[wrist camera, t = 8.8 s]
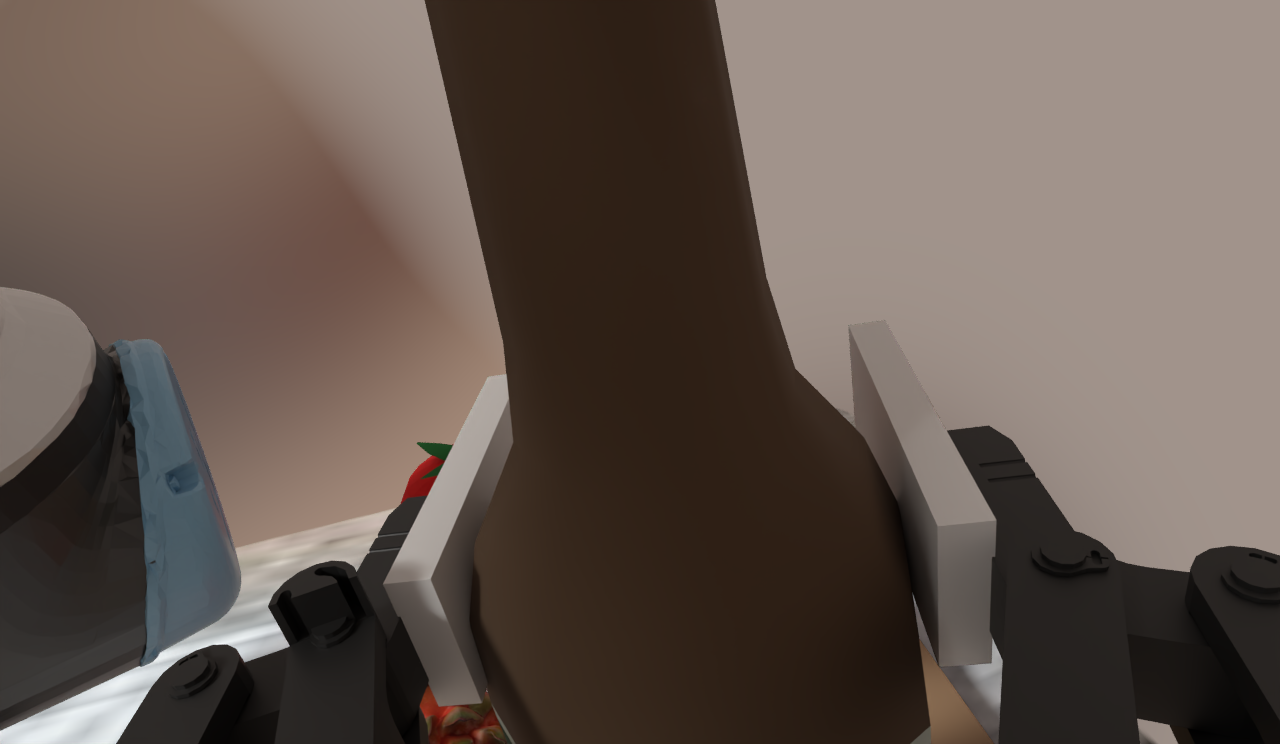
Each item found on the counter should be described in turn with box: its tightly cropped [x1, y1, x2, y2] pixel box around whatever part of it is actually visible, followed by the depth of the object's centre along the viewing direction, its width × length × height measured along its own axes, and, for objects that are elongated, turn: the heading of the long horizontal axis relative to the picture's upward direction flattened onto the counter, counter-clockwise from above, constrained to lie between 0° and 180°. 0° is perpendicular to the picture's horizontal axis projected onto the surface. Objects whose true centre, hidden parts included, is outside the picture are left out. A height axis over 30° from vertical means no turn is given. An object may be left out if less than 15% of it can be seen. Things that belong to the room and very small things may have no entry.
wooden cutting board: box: [919, 639, 994, 744], centre depth 35 cm, size 22×14×2 cm, turn 11°
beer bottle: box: [425, 0, 931, 744], centre depth 13 cm, size 8×8×24 cm
